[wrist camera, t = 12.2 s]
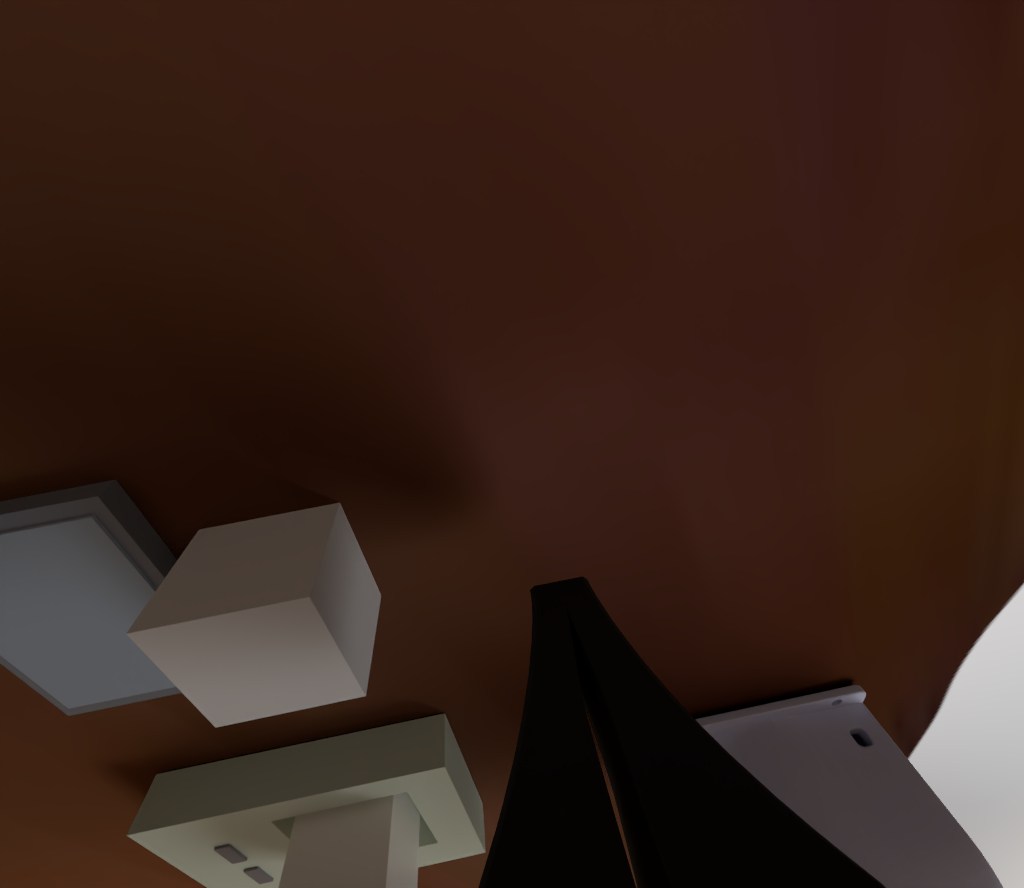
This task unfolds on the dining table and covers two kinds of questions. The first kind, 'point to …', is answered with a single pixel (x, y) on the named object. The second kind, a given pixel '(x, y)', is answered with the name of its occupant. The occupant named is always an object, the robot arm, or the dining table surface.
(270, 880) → the outlet plate
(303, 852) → the charger
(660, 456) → the dining table surface
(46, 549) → the phone
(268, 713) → the cable plug
